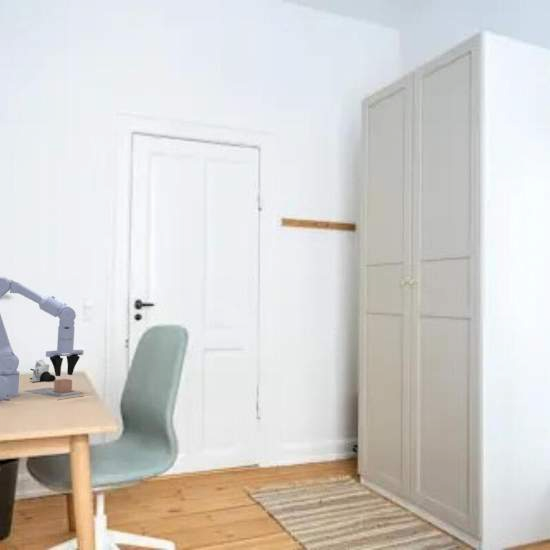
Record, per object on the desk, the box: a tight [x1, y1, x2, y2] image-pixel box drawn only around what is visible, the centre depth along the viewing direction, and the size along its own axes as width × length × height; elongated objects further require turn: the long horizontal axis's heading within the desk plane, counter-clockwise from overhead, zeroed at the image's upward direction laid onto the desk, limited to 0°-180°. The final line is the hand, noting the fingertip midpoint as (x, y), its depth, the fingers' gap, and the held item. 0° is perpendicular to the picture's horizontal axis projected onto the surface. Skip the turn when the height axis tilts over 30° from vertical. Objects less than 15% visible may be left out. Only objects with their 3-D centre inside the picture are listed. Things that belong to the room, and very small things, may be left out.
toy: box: [29, 359, 57, 383], centre depth 245 cm, size 6×12×15 cm
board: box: [24, 387, 83, 401], centre depth 214 cm, size 20×12×1 cm, turn 59°
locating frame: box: [46, 389, 81, 397], centre depth 211 cm, size 8×8×1 cm
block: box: [53, 378, 73, 393], centre depth 211 cm, size 4×4×5 cm
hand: (63, 375), depth 211 cm, fingers open, 4 cm apart
